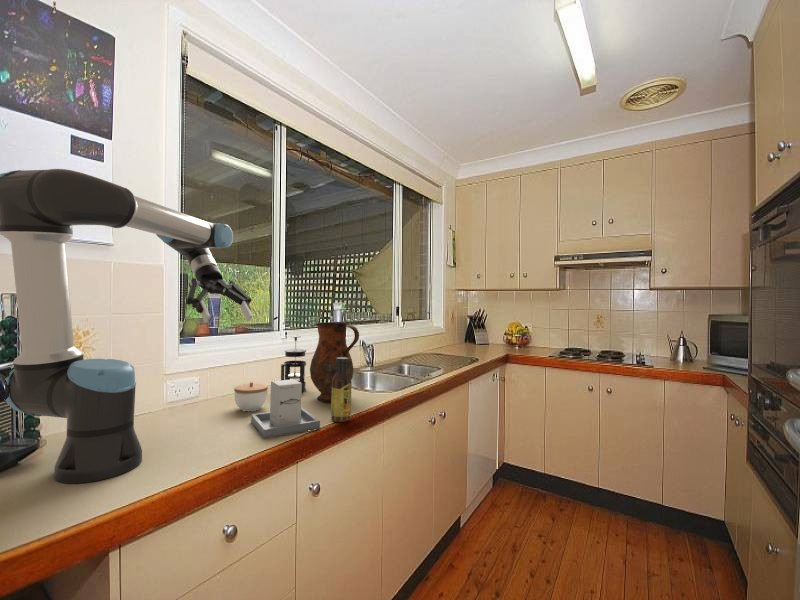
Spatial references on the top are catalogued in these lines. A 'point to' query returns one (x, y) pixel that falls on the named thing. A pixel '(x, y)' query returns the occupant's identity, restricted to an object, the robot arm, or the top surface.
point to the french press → (294, 365)
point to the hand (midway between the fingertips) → (229, 319)
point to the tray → (269, 430)
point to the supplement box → (285, 402)
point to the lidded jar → (250, 396)
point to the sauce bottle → (341, 392)
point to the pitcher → (330, 356)
